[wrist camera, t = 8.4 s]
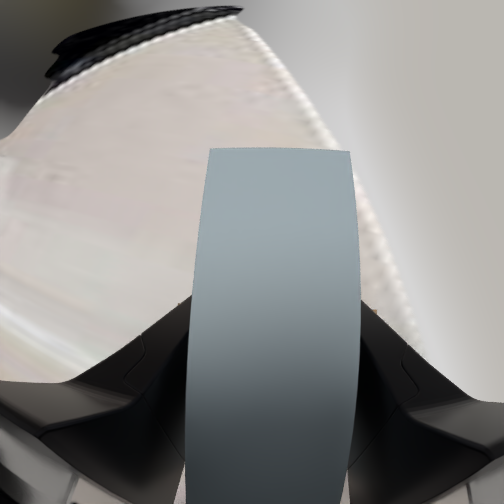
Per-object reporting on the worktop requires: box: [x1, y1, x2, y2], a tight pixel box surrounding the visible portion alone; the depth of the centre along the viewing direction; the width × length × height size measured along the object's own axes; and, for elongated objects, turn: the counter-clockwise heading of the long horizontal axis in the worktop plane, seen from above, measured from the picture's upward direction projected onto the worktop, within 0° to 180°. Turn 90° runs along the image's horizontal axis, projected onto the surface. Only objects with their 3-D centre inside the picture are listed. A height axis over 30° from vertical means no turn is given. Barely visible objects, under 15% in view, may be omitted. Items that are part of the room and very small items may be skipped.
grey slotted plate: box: [185, 148, 361, 504], centre depth 10 cm, size 9×4×10 cm, turn 177°
